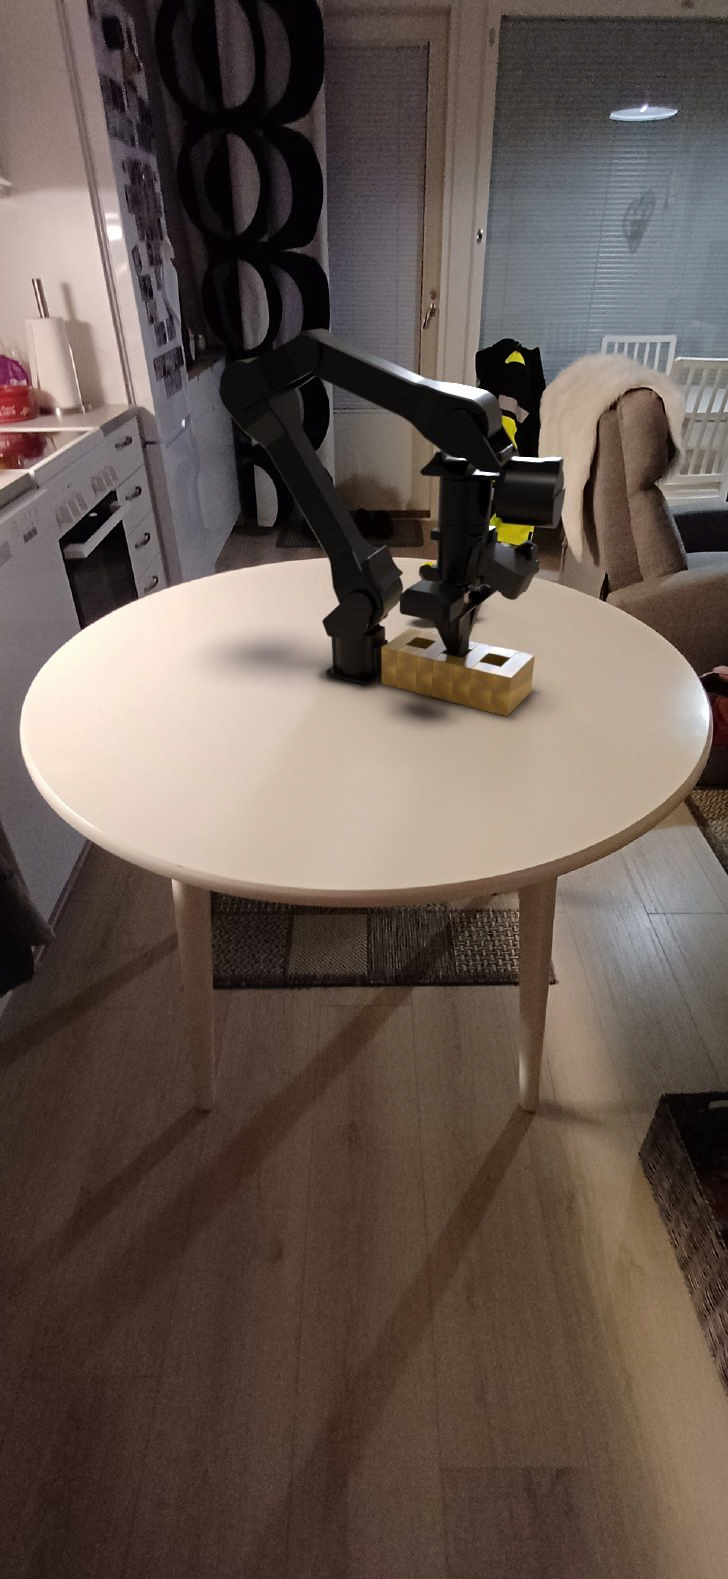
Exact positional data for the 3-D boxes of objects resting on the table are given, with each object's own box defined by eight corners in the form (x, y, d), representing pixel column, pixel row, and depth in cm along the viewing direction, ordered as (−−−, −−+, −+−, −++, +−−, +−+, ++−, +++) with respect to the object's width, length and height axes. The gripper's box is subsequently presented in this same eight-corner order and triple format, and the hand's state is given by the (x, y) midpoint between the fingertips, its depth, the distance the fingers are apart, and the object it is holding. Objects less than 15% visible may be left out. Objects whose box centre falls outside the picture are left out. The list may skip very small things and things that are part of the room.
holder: (381, 683, 98) (381, 647, 95) (409, 663, 103) (409, 627, 100) (507, 716, 91) (510, 677, 88) (530, 692, 96) (535, 655, 93)
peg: (445, 670, 95) (448, 600, 90) (452, 664, 97) (456, 595, 92) (460, 674, 94) (464, 603, 89) (467, 668, 96) (471, 597, 91)
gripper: (496, 552, 75) (485, 696, 84) (564, 508, 88) (548, 637, 97) (397, 537, 80) (396, 674, 89) (475, 497, 93) (467, 620, 102)
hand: (457, 650), depth 94 cm, fingers closed on peg, 2 cm apart
